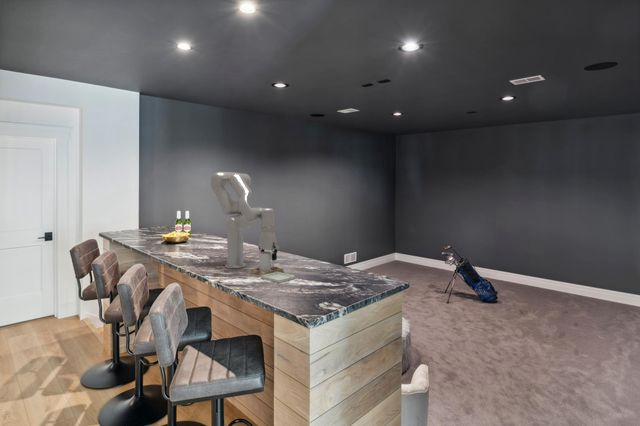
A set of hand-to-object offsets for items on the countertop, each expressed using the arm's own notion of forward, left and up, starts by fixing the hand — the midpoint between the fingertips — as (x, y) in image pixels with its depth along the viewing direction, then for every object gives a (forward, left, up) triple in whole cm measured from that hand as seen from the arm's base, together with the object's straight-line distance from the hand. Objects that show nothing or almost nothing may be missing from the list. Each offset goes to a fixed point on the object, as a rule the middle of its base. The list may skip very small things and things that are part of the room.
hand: (268, 259), depth 215 cm
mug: (-1, 0, -8) cm, 8 cm away
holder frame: (-1, 0, -8) cm, 8 cm away
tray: (+13, -5, -8) cm, 16 cm away
